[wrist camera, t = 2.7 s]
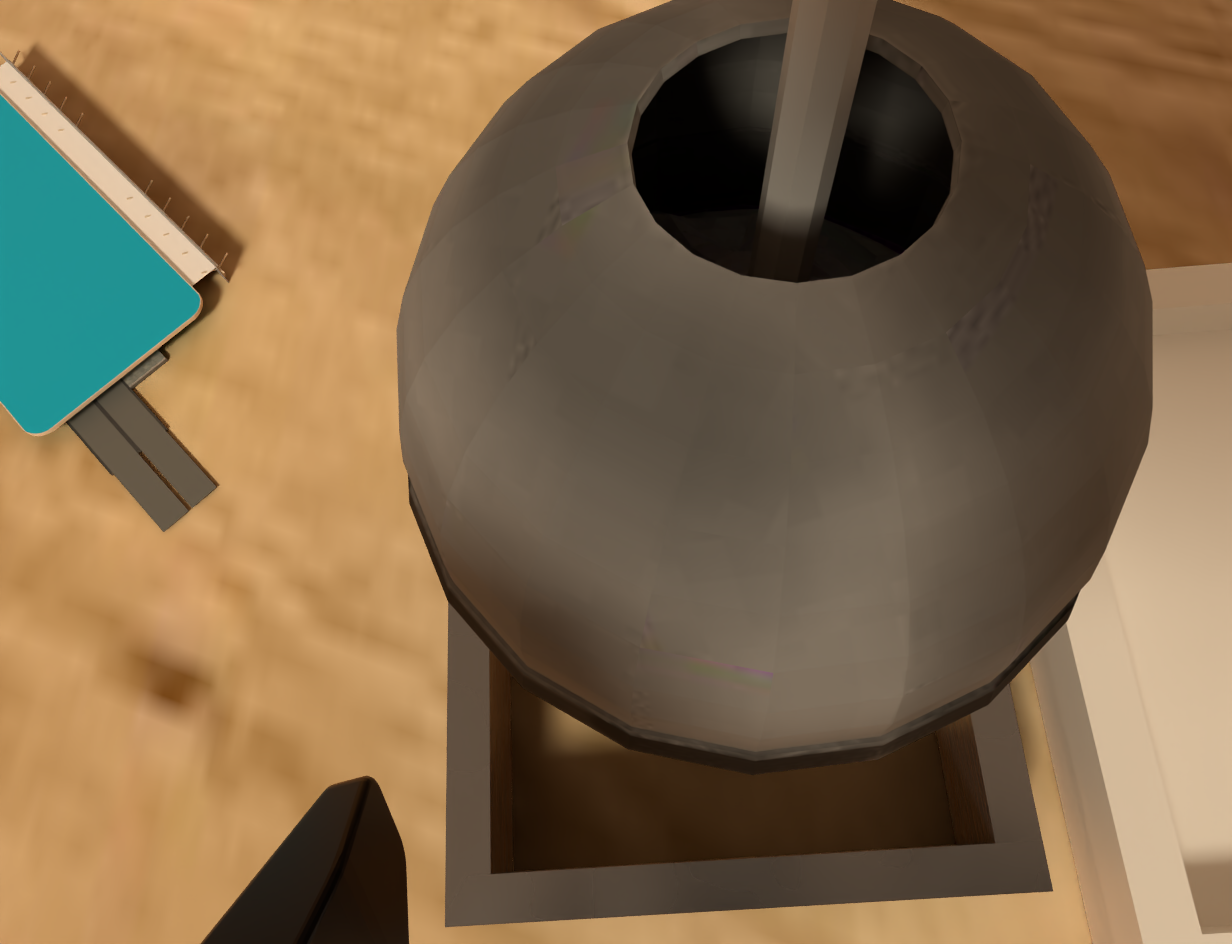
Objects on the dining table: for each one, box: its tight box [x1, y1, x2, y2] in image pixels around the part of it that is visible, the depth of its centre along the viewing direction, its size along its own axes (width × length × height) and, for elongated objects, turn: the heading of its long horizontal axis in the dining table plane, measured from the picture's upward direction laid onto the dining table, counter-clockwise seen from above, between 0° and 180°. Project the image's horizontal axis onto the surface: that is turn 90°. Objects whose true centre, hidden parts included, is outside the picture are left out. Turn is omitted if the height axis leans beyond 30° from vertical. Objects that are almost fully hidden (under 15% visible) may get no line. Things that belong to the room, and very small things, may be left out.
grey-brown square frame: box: [445, 602, 1053, 927], centre depth 19 cm, size 10×10×2 cm
